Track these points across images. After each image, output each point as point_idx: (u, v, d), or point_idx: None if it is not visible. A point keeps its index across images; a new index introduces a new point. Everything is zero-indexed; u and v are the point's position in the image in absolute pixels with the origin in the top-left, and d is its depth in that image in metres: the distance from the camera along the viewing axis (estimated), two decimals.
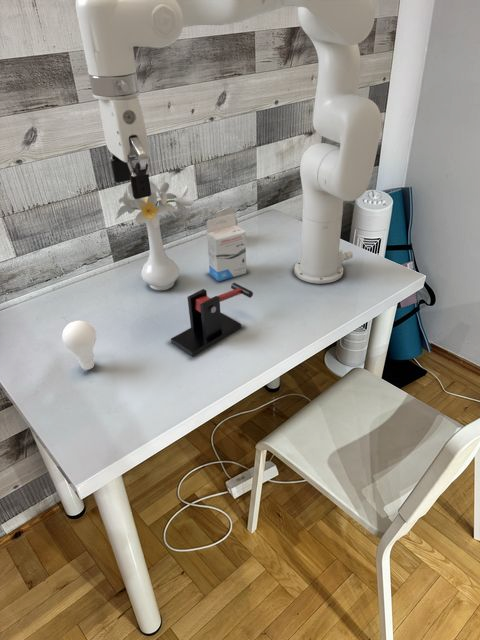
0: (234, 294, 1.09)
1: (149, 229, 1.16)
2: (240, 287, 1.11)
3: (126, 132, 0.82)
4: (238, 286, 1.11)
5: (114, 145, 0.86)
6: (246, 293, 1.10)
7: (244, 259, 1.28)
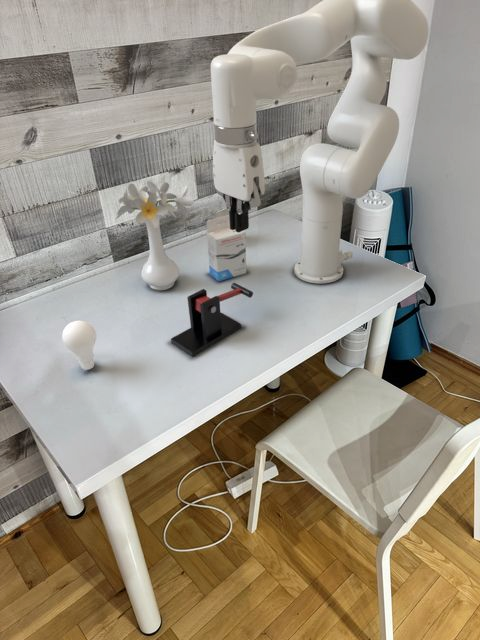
0: (234, 294, 1.09)
1: (149, 229, 1.16)
2: (240, 287, 1.11)
3: (251, 175, 0.92)
4: (238, 286, 1.11)
5: (233, 186, 0.95)
6: (246, 293, 1.10)
7: (244, 259, 1.28)
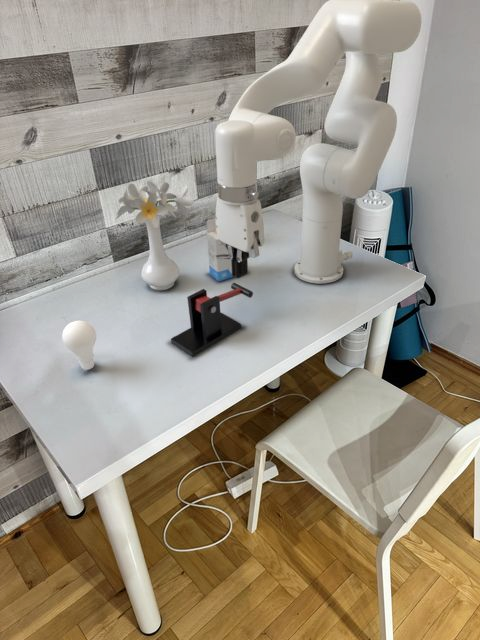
0: (234, 294, 1.09)
1: (149, 229, 1.16)
2: (240, 287, 1.11)
3: (252, 229, 0.98)
4: (238, 286, 1.11)
5: (235, 238, 1.01)
6: (246, 293, 1.10)
7: None
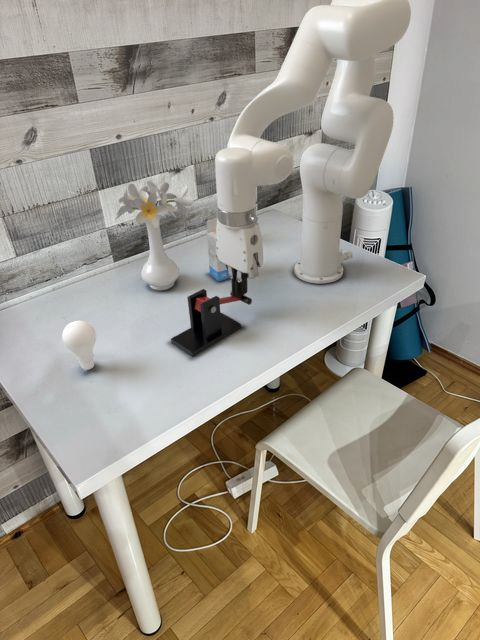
0: (233, 299, 1.10)
1: (149, 229, 1.16)
2: None
3: (251, 251, 1.01)
4: None
5: (235, 260, 1.04)
6: (246, 299, 1.11)
7: None
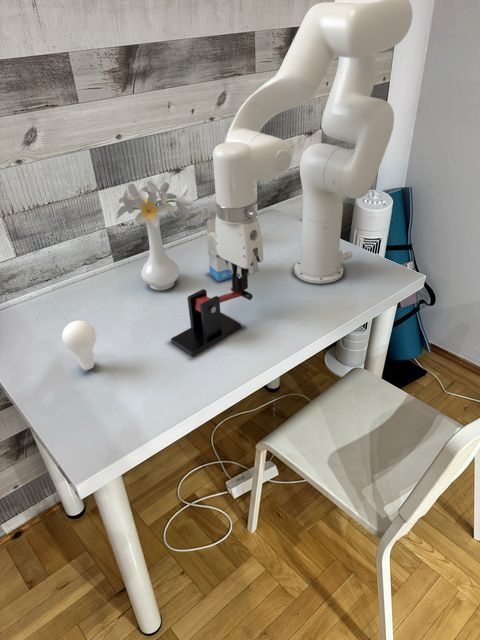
0: (234, 296, 1.10)
1: (149, 229, 1.16)
2: None
3: (251, 247, 1.00)
4: None
5: (234, 256, 1.03)
6: (246, 295, 1.10)
7: None
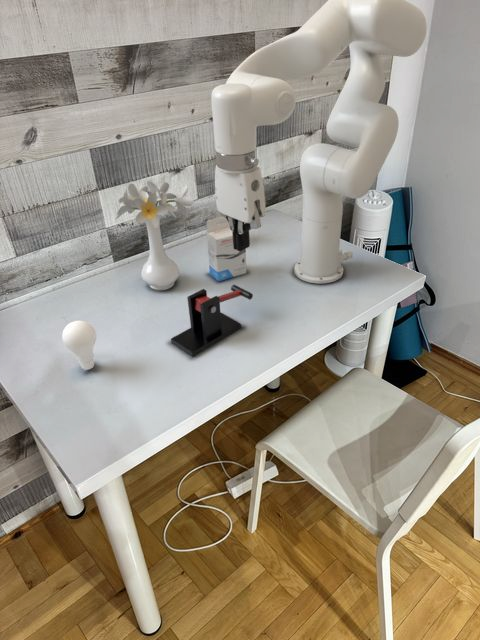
0: (234, 295, 1.10)
1: (149, 229, 1.16)
2: (240, 289, 1.11)
3: (252, 198, 0.95)
4: (238, 288, 1.12)
5: (235, 209, 0.97)
6: (246, 294, 1.10)
7: (244, 259, 1.28)
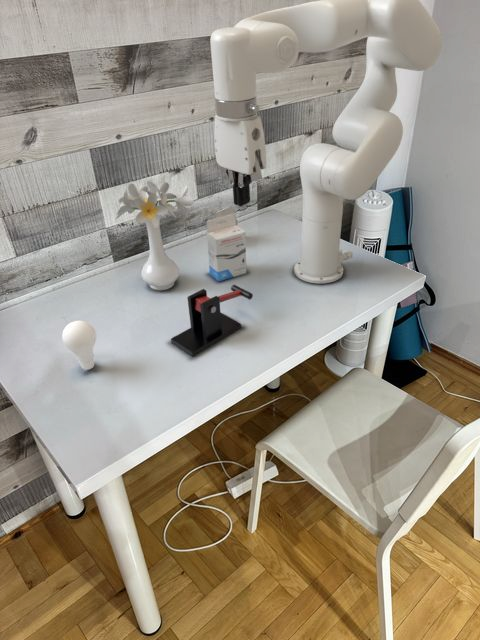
0: (234, 295, 1.10)
1: (149, 229, 1.16)
2: (240, 289, 1.11)
3: (253, 148, 0.93)
4: (238, 288, 1.12)
5: (236, 160, 0.96)
6: (246, 294, 1.10)
7: (244, 259, 1.28)
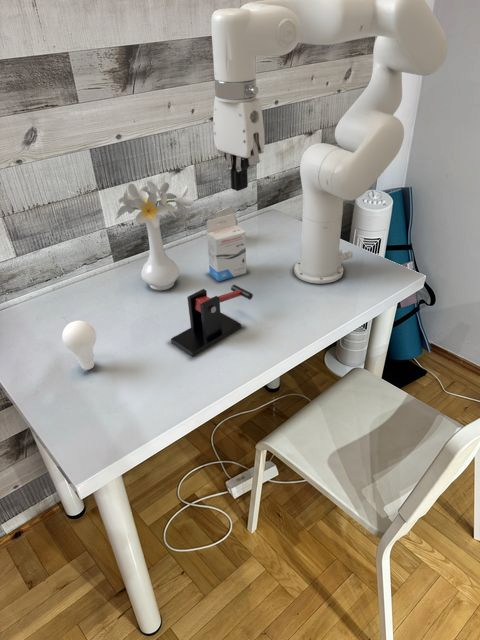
0: (234, 295, 1.10)
1: (149, 229, 1.16)
2: (240, 289, 1.11)
3: (251, 130, 0.93)
4: (238, 288, 1.12)
5: (234, 143, 0.96)
6: (246, 294, 1.10)
7: (244, 259, 1.28)
